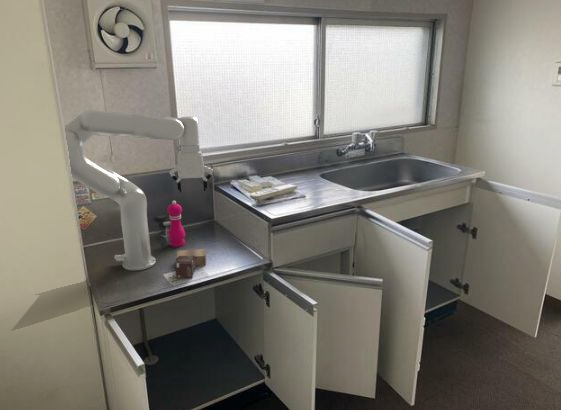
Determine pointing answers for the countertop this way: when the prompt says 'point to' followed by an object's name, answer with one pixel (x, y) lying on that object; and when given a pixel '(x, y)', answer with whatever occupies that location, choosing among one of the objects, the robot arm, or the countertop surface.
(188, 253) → the light brown rectangular block
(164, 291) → the countertop surface
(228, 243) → the countertop surface
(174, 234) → the pepper mill
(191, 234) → the countertop surface
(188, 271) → the box
